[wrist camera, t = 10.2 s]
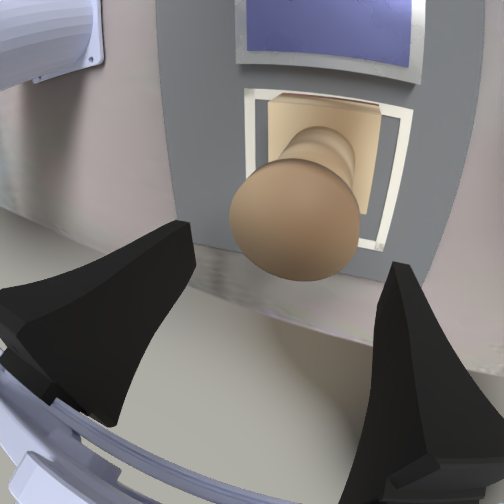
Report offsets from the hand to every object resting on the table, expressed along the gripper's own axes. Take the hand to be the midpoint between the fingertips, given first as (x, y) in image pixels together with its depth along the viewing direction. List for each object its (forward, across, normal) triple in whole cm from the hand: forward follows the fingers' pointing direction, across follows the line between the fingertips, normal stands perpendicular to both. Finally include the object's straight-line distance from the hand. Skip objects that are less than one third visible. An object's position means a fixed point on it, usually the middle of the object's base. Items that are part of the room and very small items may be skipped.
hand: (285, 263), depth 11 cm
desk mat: (+9, +1, -8) cm, 12 cm away
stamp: (+8, 0, -2) cm, 9 cm away
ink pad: (+8, 0, -10) cm, 13 cm away
